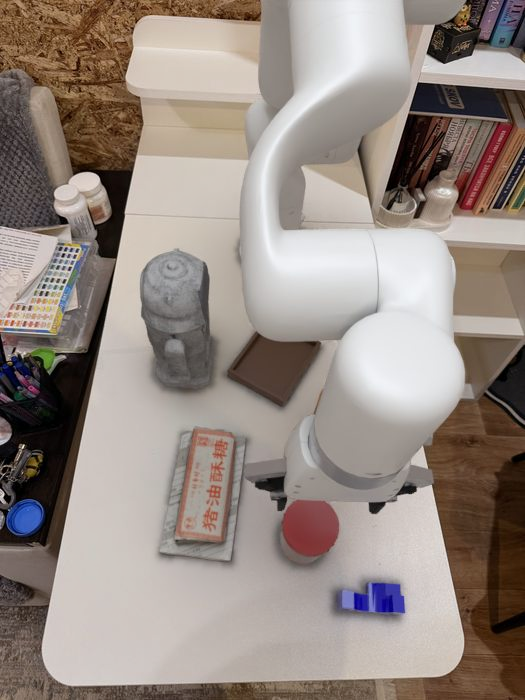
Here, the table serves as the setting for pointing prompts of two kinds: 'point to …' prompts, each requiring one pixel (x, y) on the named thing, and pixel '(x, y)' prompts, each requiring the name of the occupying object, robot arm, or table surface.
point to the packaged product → (204, 495)
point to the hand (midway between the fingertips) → (325, 497)
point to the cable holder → (373, 599)
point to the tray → (273, 366)
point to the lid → (310, 527)
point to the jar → (293, 555)
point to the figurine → (178, 318)
